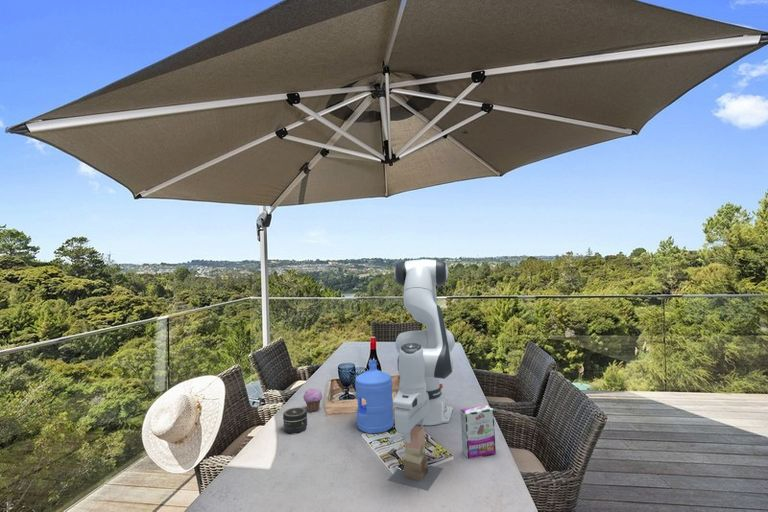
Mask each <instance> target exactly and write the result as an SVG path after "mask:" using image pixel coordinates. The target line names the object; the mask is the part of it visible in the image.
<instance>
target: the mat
mask: <svg viewBox="0 0 768 512" xmlns="http://www.w3.org/2000/svg"><path fill="white" fill-rule="evenodd" d="M428 465H429V466H428V472H427V474H426V475H425V476H424V477H423V479H422V480H421V481H419V480H415V479H411V478H407V477H404V471H403V470H404V469H403V470H402V469H401V470H400V469H398V468H397V469H396V470H395V471H394V472H393V474H392V475H391V476H390V477H389V478H388V479H387V481H388V482H393V483H396V484H400V485H404V486H408V487H411V488H416V489H418V490H419V489H420V490H424V491H426V492H427V491H429V490H430V489H431V487H432V486H433V484H434V483H435V481H436V480H437V478H438V477H439V475H440V474H441V473H442V472H443V470H444V467H439V466H436V465H435V466H434V465H431V464H428Z"/></svg>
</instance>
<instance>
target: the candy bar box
mask: <svg viewBox="0 0 768 512" xmlns="http://www.w3.org/2000/svg"><path fill="white" fill-rule="evenodd" d="M459 411H460V426H461V427H460V428H461V444H462V453H463V455H465V457H466V458H467V459H468V460H469V459H474V458H480V457H487V456H492V455H495V454H497V453H496V450H497V449H496V448H497V447H496V433H495V416H494V415H495V414H494V408H493V407H491V406H490V405H489V404H483V405H478V406H472V407H467V408H461V409H460V410H459Z"/></svg>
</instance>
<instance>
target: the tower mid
mask: <svg viewBox="0 0 768 512" xmlns="http://www.w3.org/2000/svg"><path fill="white" fill-rule="evenodd" d="M425 443H426V442H425ZM425 443H424V444H423V445H422V446H421V447H420V449H416V448H411V447H407V446H405V445H404V457H405V458H404V460H405V461H406V462H411V463H415V464H420V463H421V462H422V461H423V460H424V458H425V456H426V444H425Z"/></svg>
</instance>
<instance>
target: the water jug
mask: <svg viewBox="0 0 768 512" xmlns="http://www.w3.org/2000/svg"><path fill="white" fill-rule="evenodd" d="M368 363H369V364H368V367H369V369H368V370H367V371H364V372H363V373H361V374H358V375H357V376H356V377H355V382H354V383H355V384H354V385H355V386H354V388H355V395H356V396H357V400H356V401H357V409H356V426H357V428H358V429H359V430H360V431H361V432H364V433H367V434H380V433H385V432H387V431H390V430H391V429H392V428H393V426H395V418H394V406H393V401H394V399H393V379H392V376H391V375H390V374H389V373H387V372H384V371H381V370H380V369H378V368H377V367H378V366H377V365H378V364H377V360H376V359H369V362H368ZM362 399H364V400H365V404H363V401H362Z"/></svg>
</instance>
